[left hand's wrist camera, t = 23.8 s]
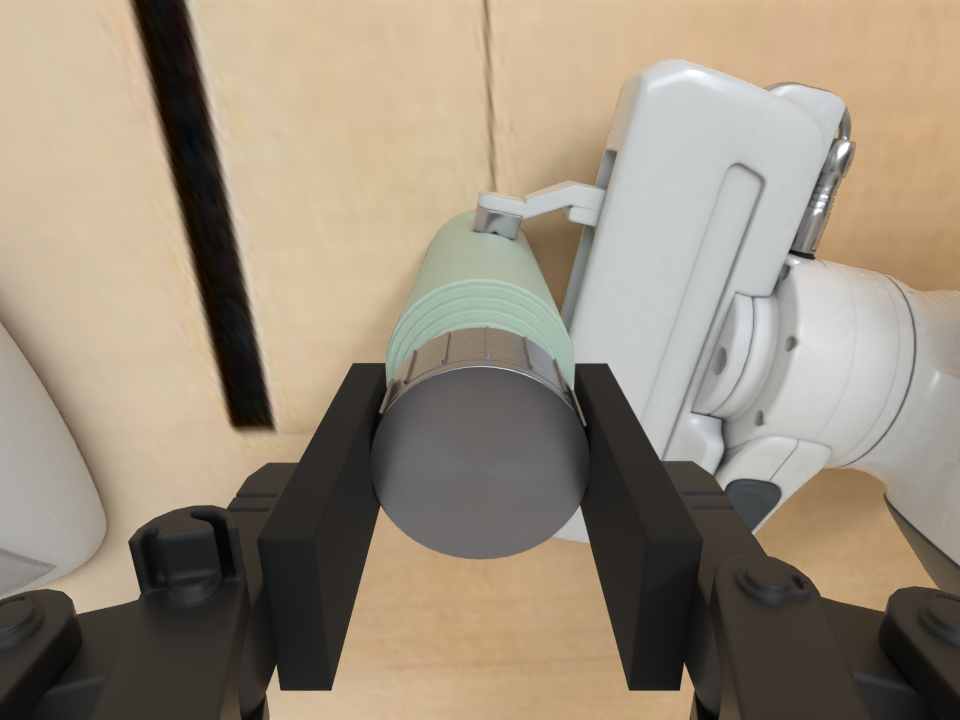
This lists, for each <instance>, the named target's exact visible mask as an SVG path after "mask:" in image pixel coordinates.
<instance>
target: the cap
mask: <svg viewBox="0 0 960 720" xmlns="http://www.w3.org/2000/svg"><path fill="white" fill-rule="evenodd" d="M378 415H380V418H379V421H378V424H377V426H376V429H375V432H374V435H373V439H372V442H371V448H370V461H371V475H372V485H373V488H374V492H375V494H376V496H377V498H378V501H379V503H380V505H381V506H382V508H383V509H384V511H385V513H386V514H387V516H388V517H389V518H390V519H391V520H392V521H393V523H394V524H395V525H396V526H397V527H398V528H399V529H400V530H402V531H403V532H404V533H405V534H406V535H408V536H409V537H410V538H412V539H413V540H415V541H416V542H418V543H420V544H422V545H423V546H425V547H427V548H429V549H432V550H434V551H437V552H439V553H443V554H446V555H450V556H454V557H460V558H466V559H495V558H501V557H507V556H511V555H514V554H518V553H521V552H524V551H526V550H529V549H531V548H533V547H535V546H537V545H539V544H541V543H543V542H544V541H546V540H547V539H549V538H550V537H552V536H553V535H554V534H556V533H557V532H558V531H559V530H560V529H561V528H562V527H563V526H565V524H566V523H567V522H568V521H569V520H570V519H571V517H572V516H573V515H574V513H575V512H576V510H577V509H578V507H579V506H580V504H581V502H582V500H583V498H584V495H585V493H586V490H587V487H588V480H589V467H590V443H589V440H588V437H587V433H586V430H585V428H588V427H587V424H586V421H585V419H584V416H583V413H582V410H581V408H580V405H579V402H578V399H577V397H576V394H575V391H574V389H573V390H571V388H570V385H569V383H568V380H567V378H566V376H565V374H564V373H563V371H562V369H561V368H560V366H559V363H558V360H557V359H556V358H555V359H553V358H552V357H551V356H550V355H549V354H548V353H547V352H546V351H545V350H544V349H542V348H541V347H540V346H538V345H537V344H535V343H534V342H532V341H531V340H529V339H528V337H526V336H524V337H522V336H520V335H518V334H515V333H512V332H509V331H506V330H501V329H495V328H489V327H487V326H486V328H483V327H478V328H465V329H460V330H455V331H452V332H450V331H447V332H446V333H445V334H442V335H440V336H438V337H436V338H434V339H432V340H430V341H428V342H427V343H425V344H424V345H422V346H421V347H419V348H418V349H417V350H415V349H414V350H413V351H412V354H411V355H410V356H409V357H408V359H407V360H406V361H405V362H404V363H403V364H402V366H401V367H400V369H399V370H398V372H397V373H396V375H395V377H394V379H393V378H391V380H390V382H389V385H388V388H387V391H386V393H385V396H384V399H383V402H382V405H381V407H380V410H379V413H378Z"/></svg>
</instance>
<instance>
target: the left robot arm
mask: <svg viewBox="0 0 960 720" xmlns="http://www.w3.org/2000/svg"><path fill="white" fill-rule="evenodd" d="M386 391H387V384H386V368H385V363H353V364H352V366H351V368H350V370H349V372H348V374H347V375H346V377H345V379H344V381H343V383H342V385H341V386H340V388H339V390H338V392H337V394H336V396H335V397H334V399H333V401H332V403H331V405H330V407H329V408H328V410H327V412H326V414H325V416H324V418H323V419H322V421H321V423H320V425H319V427H318V429H317V430H316V432H315V434H314V436H313V438H312V440H311V441H310V443H309V445H308V447H307V449H306V451H305V452H304V454H303V456H302V458H301V460H300V462H299V463H267V464H266V465H264V466H263V467H262V468H260V469H259V470H257V471H256V472H254V473H253V474H252V475H250V476H249V477H248V478H247V479H246V481H245V482H244V484H243V485H242V487H241V488H240V490H239V491H238V493H237V494H236V498H233V500H232V501H231V503H230V504H229V506H228V507H227V509H225V508H221V507H217V506H213V505H205V506H190V507H186V508H181V509H177V510H173V511H171V512H168V513H166V514H163V515H161V516H158V517H156V518H154V519H152V520H151V521H149V522H148V523H147V524H145V525H144V526H142V527H141V528H139V529H138V530H137V531H136V533H135V534H134V535H133V536H132V537H131V539H130V540H129V541H128V543H129V547H130V551H131V555H132V559H133V563H134V567H135V571H136V575H137V579H138V583H139V587H140V591H141V594H140V597H139V599H138V600H136V601H132V602H129V603H125V604H122V605H117V606H113V607H108V608H104V609H99V610H95V611H90V612H86V613H81V614H76V611H75V608H74V604H73V601H72V599H71V598H70V597H68V596H67V595H66V594H65V593H64V592H61V591H55V590H50V589H43V590H34V591H26V592H22V593H19V594H15V595H13V596H9V597H6V598H4V599H1V600H0V720H269V717H270V716H269V709H268V702H267V696H266V690H267V687H268V685H269V682H270V680H271V677H272V674H273V672H274V669H275V666H276V664H277V670H278V677H279V683H280V689H281V691H331V690H332V686H333V682H334V678H335V674H336V671H337V667H338V663H339V659H340V656H341V652H342V648H343V644H344V641H345V637H346V633H347V629H348V626H349V622H350V618H351V614H352V610H353V607H354V603H355V599H356V595H357V592H358V588H359V584H360V580H361V577H362V573H363V569H364V565H365V561H366V558H367V554H368V550H369V546H370V543H371V539H372V535H373V531H374V528H375V524H376V520H377V516H378V512H379V509H380V503H379V501H378V498H377V496H376V494H375V492H374V488H373V485H372V475H371V461H370V448H371V442H372V439H373V435H374V432H375V429H376V426H377V424H378V421H379V418H380V415H378V413H379V410H380V407H381V405H382V402H383V399H384V396H385V393H386ZM574 391H575V394H576V397H577V399H578V402H579V405H580V408H581V410H582V413H583V416H584V419H585V421H586V424H587V427H588V428H585V430H586V433H587V437H588V440H589V443H590V467H589V480H588V487H587V490H586V493H585V495H584V498H583V500H582V502H581V504H580V507H581V511H582V515H583V519H584V522H585V526H586V530H587V534H588V537H589V541H590V545H591V549H592V552H593V556H594V560H595V564H596V568H597V571H598V575H599V579H600V583H601V586H602V590H603V594H604V598H605V601H606V605H607V609H608V613H609V617H610V620H611V624H612V628H613V632H614V635H615V639H616V643H617V647H618V650H619V654H620V658H621V662H622V665H623V669H624V673H625V677H626V681H627V684H628V688H629V691H680V685H681V679H682V673H683V667H684V662H685V665H686V668H687V670H688V673H689V675H690V678H691V681H692V683H693V686H694V688H695V690H694V696H693V702H692V708H691V714H690V719H689V720H960V596H957V595H954V594H951V593H947V592H944V591H941V590H938V589H932V588H923V587H915V586H914V587H908V588H903V589H898V590H897V591H896V592H895V593H893V594H892V595H891V596H890V597H889V600H888V603H887V606H886V610H885V612H882V611H877V610H873V609H868V608H864V607H859V606H855V605H850V604H846V603H841V602H837V601H834V600H830V599H827V598H823V597H821V596H820V593H819V591H818V590H817V588H816V587H815V586H814V584H813V583H812V581H811V580H810V579H809V578H808V577H807V576H806V575H804V574H803V573H802V572H800V571H799V570H798V569H797V568H795V567H794V566H792V565H789V564H787V563H785V562H783V561H781V560H779V559H777V558H774V557H769V556H767V555H766V553H765V552H764V550H763V549H762V547H761V546H760V544H759V543H758V541H757V540H756V538H755V537H754V535H753V534H752V532H751V531H750V529H749V528H748V526H747V525H746V523H745V522H744V520H743V519H742V518H741V516H740V515H739V513H738V512H737V510H734V506H733V504H732V503H731V501H730V500H729V498H728V497H727V496H725V495H724V491H723V489H722V488H721V486H720V485H719V483H718V482H717V480H716V479H715V478H714V476H713V475H712V474H710V473H709V472H708V471H706V470H705V469H703V468H702V467H700V466H699V465H698V464H696V463H695V462H693V461H660V459H659V457H658V455H657V453H656V452H655V450H654V448H653V446H652V444H651V442H650V441H649V439H648V437H647V435H646V433H645V431H644V430H643V428H642V426H641V424H640V422H639V420H638V419H637V417H636V415H635V413H634V411H633V409H632V408H631V406H630V404H629V402H628V400H627V398H626V397H625V395H624V393H623V391H622V389H621V387H620V386H619V384H618V382H617V380H616V378H615V376H614V375H613V373H612V371H611V369H610V367H609V365H608V364H607V363H575V374H574Z"/></svg>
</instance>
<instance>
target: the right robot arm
mask: <svg viewBox="0 0 960 720" xmlns="http://www.w3.org/2000/svg"><path fill="white" fill-rule="evenodd" d="M838 126H839V133H838V138H834V136H835V134H836V131H837V129H838ZM850 135H851V119H850V114H849V112H848V109H847V107H846V105H845V103H844V101H843V100H842V99H841V98H840V97H838V96H837V95H836V94H834V93H832V92H830V91H828V90H825V89H821V88H817V87H812V86H808V85H804V84H800V83H796V82H781V83H776V84H773V85H770V86H768V87H766V88H764V89H763V88H761V87H758V86H756V85H754V84H751V83H749V82H747V81H744V80H742V79H739V78H737V77H734V76H732V75H729V74H726V73H724V72H721V71H718V70H715V69H712V68H709V67H706V66H703V65H700V64H696V63H693V62H689V61H686V60H681V59H676V58H666V59H660V60H656V61H654V62H652V63H650V64H648V65H646V66H644V67H643V68H641V69H639V70H638V71H636V72H635V73H633V74H632V75H631V76H629V77H628V78H627V79H626V80H625V81H624V83H623V85H622V87H621V91H620V94H619V98H618V101H617V105H616V109H615V112H614V116H613V120H612V124H611V127H610V131H609V135H608V138H607V142H606V146H605V150H604V153H603V157H602V161H601V164H600V168H599V172H598V175H597V179H596V183H595V186H593V185H589V184H584V183H579V182H575V181H570V180H567V181H564V182H561V183H558V184H555V185H553V186H550V187H547V188H544V189H541V190H538V191H535V192H532V193H529V194H526V195H523V198H518V197H514V196H509V195H505V194H500V193H496V192H491V191H483V190H480V193H479V198H478V202H477V207H476V212H475V218H474V223H473V230H475V231H478V232H481V233H489V234H491V233H493V232H496V233H497V234H498V235H499V236H502V237H505V238H509V239H514V240H516V239H517V235H518V231H519V227H520V223H521V220H525V219H528V218H531V217H534V216H538V215H541V214H544V213H547V212H550V211H553V210H557V209H560V208H562V213H563V214H564V215H565V216H566V217H567V218H568V219H569V220H570V221H572V222H576V223H580V224H584V227H583V231H582V235H581V239H580V242H579V246H578V250H577V253H576V257H575V261H574V264H573V268H572V272H571V276H570V279H569V283H568V287H567V290H566V294H565V298H564V302H563V305H562V309H561V313H560V316H561V319H562V321H563V323H564V325H565V328H566V330H567V333H568V335H569V337H570V340H571V344H572V348H573V352H574V361H575V363H607V364H608V365H609V367H610V369H611V371H612V373H613V375H614V376H615V378H616V380H617V382H618V384H619V386H620V387H621V389H622V391H623V393H624V395H625V397H626V398H627V400H628V402H629V404H630V406H631V408H632V409H633V411H634V413H635V415H636V417H637V419H638V420H639V422H640V424H641V426H642V428H643V430H644V431H645V433H646V435H647V437H648V439H649V441H650V442H651V444H652V446H653V448H654V450H655V452H656V453H657V455H658V457H659V459H660V461H693V462H695V463H696V464H698V465H699V466H700V467H702V468H703V469H705V470H706V471H708V472H709V473H710V474H712V475H713V476H714V478H715V479H716V480H717V482H718V483H719V485H720V486H721V488H722V489H723V491H724V495H725V496H727V497H728V498H729V500H730V501H731V503H732V504H733V506H734V510H737V512H738V513H739V515H740V516H741V518H742V519H743V520H744V522H745V523H746V525H747V526H748V528H749V529H750V531H751V532H752V534H753V535H755V533H756V532H757V531H758V530H759V529H760V528H761V527H762V526H763V524H764V523H765V522H766V521H767V520H768V519H769V518H770V517H771V516H772V515H773V514H774V513H775V512H776V510H777V509H778V508H779V507H780V506H781V505H782V504H783V503H784V502H785V501H786V500H787V499H788V498H789V497H790V496H792V495H793V494H794V493H795V492H796V491H797V490H798V489H799V488H800V487H801V486H803V485H804V484H805V483H806V482H808V481H809V480H810V479H811V478H812V477H814V476H815V475H816V474H817V473H818V472H819V471H820V470H821V469H855V470H860V471H863V472H866V473H868V474H870V475H872V476H873V477H875V478H877V479H878V480H880V481H881V482H882V483H883V484H884V486H885V487H886V493H884V495H883V496H884V499H885V502H886V504H887V507H888V509H889V511H890V513H891V515H892V517H893V518H894V520H895V522H896V523H897V525H898V527H899V529H900V530H901V532H902V533H903V535H904V536H905V538H906V539H907V541H908V543H909V544H910V546H911V548H912V549H913V551H914V552H915V554H916V555H917V557H918V558H919V560H920V562H921V563H922V565H923V567H924V568H925V570H926V571H927V573H928V574H929V576H930V577H931V579H932V580H933V581H934V583H935V584H936V585H937V586H938V588H939V589H940V590H941V591H944V592H947V593H951V594H954V595H957V596H960V290H938V291H927V292H926V291H919V290H915V289H913V288H911V287H910V286H908V285H906V284H905V283H903V282H901V281H899V280H897V279H896V278H894V277H892V276H889V275H886V274H884V273H880V272H877V271H873V270H867V269H863V268H858V267H854V266H849V265H845V264H840V263H835V262H831V261H826V260H822V259H818V258H816V257H814V254H815V252H816V249H817V247H818V244H819V242H820V240H821V237H822V235H823V232H824V230H825V227H826V225H827V222H828V219H829V217H830V214H831V212H830V210H832V206H833V205H832V203H833V202H834V199H835V198H834V196H836V193H837V189H838V188H839V186H840V183H841V181H842V179H843V178H845V177H846V175H847V173H848V171H849V169H850V166H851V164H852V161H853V158H854V154H855V149H856V143H855V142H853V141H849V139H850ZM574 374H575V370H574ZM573 389H574V379H573V385H572V388H571V390H573ZM552 537H553V538H558V539H563V540H569V541H575V542H581V543H589V544H590V541H589V537H588V534H587V530H586V526H585V522H584V519H583V515H582V511H581V507H580V506H579V507H578V509H577V510H576V512H575V513H574V515H573V516H572V517H571V519H570V520H569V521H568V522H567V523H566V524H565V526H563V527H562V528H561V529H560V530H559V531H558V532H557V533H556V534H554V535H553V536H552Z"/></svg>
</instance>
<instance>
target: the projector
mask: <svg viewBox="0 0 960 720" xmlns="http://www.w3.org/2000/svg"><path fill="white" fill-rule="evenodd" d="M106 529H107V525H106V517H105V513H104V509H103V506H102V503H101V501H100V498H99V495H98V492H97V490H96V487H95V485H94V483H93V480H92V478H91V476H90V473H89V471H88V469H87V466H86V464H85V462H84V460H83V458H82V456H81V454H80V452H79V450H78V448H77V446H76V443H75V441H74V439H73V437H72V436H71V434H70V432H69V430H68V428H67V426H66V424H65V423H64V421H63V419H62V417H61V415H60V413H59V411H58V409H57V408H56V406H55V404H54V403H53V401H52V399H51V398H50V396H49V394H48V393H47V391H46V389H45V388H44V386H43V384H42V383H41V381H40V379H39V378H38V376H37V375H36V373H35V372H34V370H33V369H32V367H31V366H30V364H29V363H28V361H27V359H26V358H25V356H24V355H23V353H22V352H21V350H20V349H19V347H18V346H17V345H16V343H15V342H14V340H13V339H12V338H11V336H10V335H9V333H8V332H7V330H6V329H5V328H4V326H3V325H2V323H1V322H0V599H4V598H6V597H9V596H13V595H15V594H19V593H22V592H26V591H32V590H34V589H37V588H39V587H41V586H44V585H46V584H48V583H50V582H52V581H55V580H57V579H59V578H61V577H63V576H65V575H67V574H69V573H70V572H72V571H74V570H75V569H77V568H79V567H80V566H82V565H83V564H84V563H86V562H87V561H88V560H89V559H90V558H91V557H92V556H93V555H94V554H95V553H96V551H97V550H98V548H99V547H100V545H101V544H102V542H103V539H104V537H105V534H106Z"/></svg>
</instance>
